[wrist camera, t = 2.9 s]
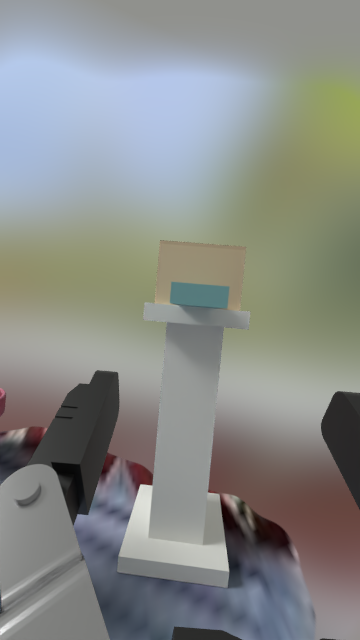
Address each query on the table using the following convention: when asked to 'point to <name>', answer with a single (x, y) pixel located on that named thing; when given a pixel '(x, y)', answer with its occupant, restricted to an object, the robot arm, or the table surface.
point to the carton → (200, 275)
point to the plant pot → (2, 401)
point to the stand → (183, 456)
